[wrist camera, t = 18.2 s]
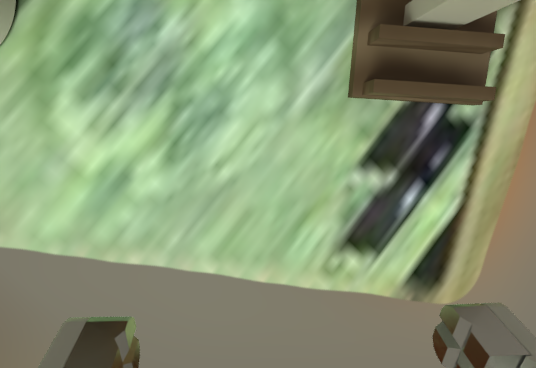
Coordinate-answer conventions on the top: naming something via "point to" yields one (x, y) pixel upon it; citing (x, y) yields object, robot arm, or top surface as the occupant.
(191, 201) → the top surface
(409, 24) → the clay tile
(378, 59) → the rack
